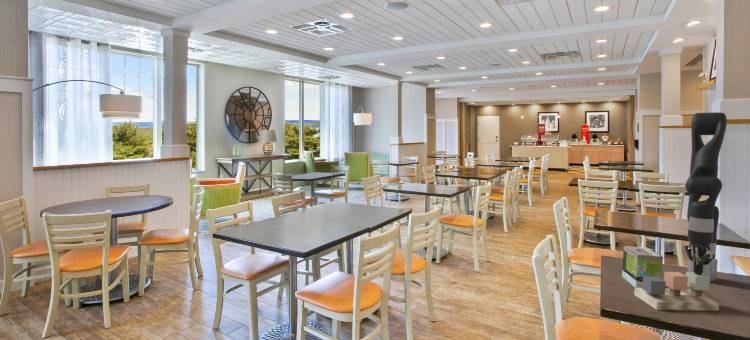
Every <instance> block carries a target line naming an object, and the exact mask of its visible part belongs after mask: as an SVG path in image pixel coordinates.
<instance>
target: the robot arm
mask: <svg viewBox="0 0 750 340" xmlns="http://www.w3.org/2000/svg"><path fill="white" fill-rule="evenodd" d="M727 122H728V121H727V115H726V113H724V112H720V111H717V112H716V111H715V112H695V113H694V114H693V115H692V117H691V122H690V123H691V128H690V129H691V130H690V131H691V156H690V168H689V170H690V171H689V176H688V178H687V180H686V182H685V185H684V186H685V191H686V192H687V193H688V195H689V196H688V204H687V212H686V213H687V214H686V219H687V222H688V225H687V226H688V227H687V240H688V241H689V245H684V249H685V251H686V254H687V256H688V264H687V272H694V273H695V274H697V275H701V274H702V273H703V274H705V275H707V276H709V277H710V283H711V282H714V281H715V282H716V281H717V276H718V274H717V273H718V263H719V262H718V259H717V258H716V256H717V255H716V254H717V253H716V252H717V234H718V233H717V232H718V226H719V219H720V209H719V207H718V206H717V205H716V202H717V199H718V197H719V195H720V193H721V191H722V188H723V183H722V181H721V179H720V178H718V176H719V175H718V173H719V164H718V163H719V156H720V151H721V147H722V145H723V142H724V139H725V134H726V131H727ZM702 136H712V137H711V139H710V140H709V141H708V142H706V143H704V140H703V138H702ZM702 196H706V197H707V196H708V198H706V199H704V200H700V199H701V197H702Z"/></svg>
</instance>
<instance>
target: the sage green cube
mask: <svg viewBox="0 0 750 340" xmlns="http://www.w3.org/2000/svg"><path fill="white" fill-rule="evenodd" d="M685 275H686V276H688V284H687V288H692V289H694V290H702V291H710V283H711V282H710V277H709V276H707V275H705V274H703V273H702V274H701V275H697V274H695V273H694V272H688V271H686V272H685Z"/></svg>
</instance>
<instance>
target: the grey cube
mask: <svg viewBox="0 0 750 340" xmlns="http://www.w3.org/2000/svg"><path fill="white" fill-rule="evenodd" d="M665 285H666V281H664V278H663V279H661V278H659V277H657V276H643V290H645V291H646V292H648V293H649V294H662V295H665V288H666V286H665Z"/></svg>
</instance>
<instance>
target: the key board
mask: <svg viewBox="0 0 750 340" xmlns="http://www.w3.org/2000/svg"><path fill="white" fill-rule="evenodd" d="M634 296H635V297H637V298H638V299H640V300H641V301H643V302H644V303H646V304H647V305H648V306H650V307H652V308H653V309H655V310H657V311H660V310H661V311H707V312H708V311H714V312H715V311H717V312H718V311H719V308H720V303H719V301H717V300H716V299H712V298H711V297H708V296H707V295H705V294H703V290H694V289H692V288H690V287H687V290H672V289H671V288H669V287H665V295H662V294H649V293H648V292H646V291H645V290H643V288H635V287H634Z"/></svg>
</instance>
